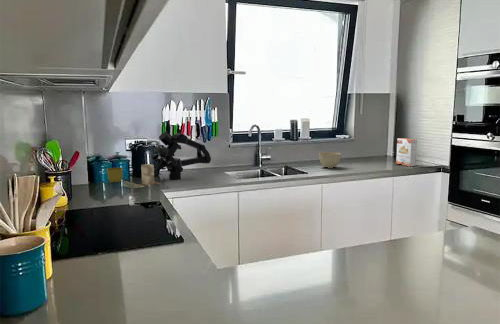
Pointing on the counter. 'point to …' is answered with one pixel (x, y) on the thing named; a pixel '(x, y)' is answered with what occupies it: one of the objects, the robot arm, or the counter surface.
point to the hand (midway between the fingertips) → (156, 170)
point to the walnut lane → (133, 185)
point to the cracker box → (406, 151)
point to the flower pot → (114, 174)
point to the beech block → (147, 174)
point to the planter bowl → (329, 159)
